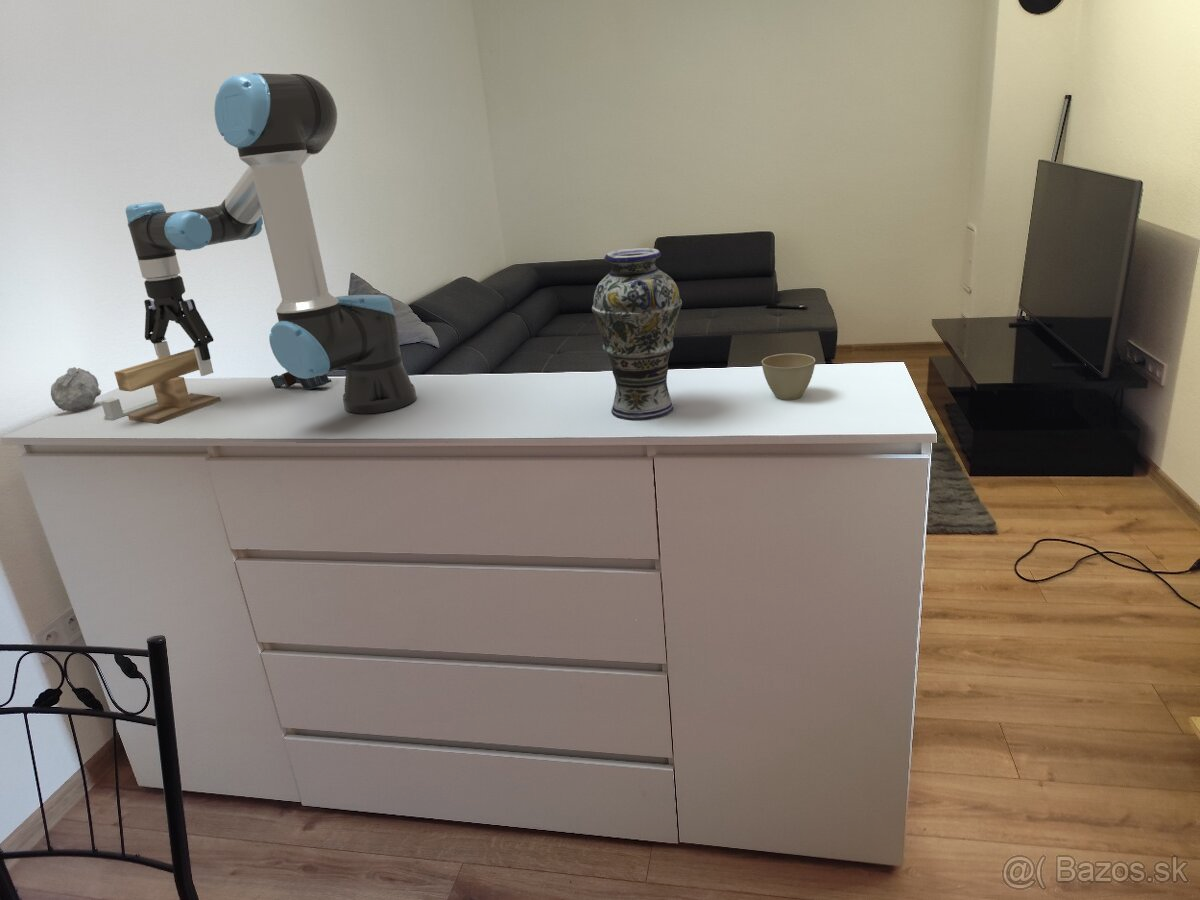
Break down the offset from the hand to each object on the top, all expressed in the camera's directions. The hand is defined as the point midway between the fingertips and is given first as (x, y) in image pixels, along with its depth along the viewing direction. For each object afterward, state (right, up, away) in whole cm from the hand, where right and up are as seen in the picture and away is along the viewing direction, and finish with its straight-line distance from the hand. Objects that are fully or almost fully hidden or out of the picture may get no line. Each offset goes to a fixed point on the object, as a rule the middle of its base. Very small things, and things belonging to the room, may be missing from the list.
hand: (187, 372), depth 191 cm
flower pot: (+129, -7, -26) cm, 132 cm away
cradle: (-11, -7, +3) cm, 13 cm away
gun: (+23, -3, +8) cm, 25 cm away
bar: (-2, -1, -4) cm, 5 cm away
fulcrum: (-2, -8, -1) cm, 9 cm away
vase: (+101, -10, -27) cm, 105 cm away
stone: (-27, -8, +6) cm, 28 cm away
